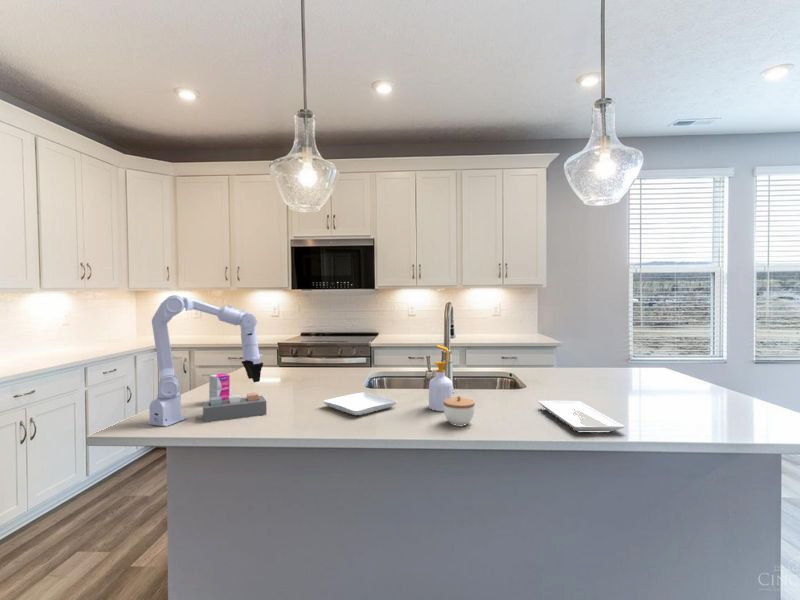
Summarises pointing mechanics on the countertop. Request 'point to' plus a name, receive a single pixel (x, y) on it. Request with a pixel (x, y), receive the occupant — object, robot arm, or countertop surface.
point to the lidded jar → (458, 410)
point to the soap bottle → (440, 386)
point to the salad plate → (360, 403)
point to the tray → (566, 411)
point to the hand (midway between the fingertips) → (254, 380)
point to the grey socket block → (234, 409)
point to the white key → (234, 399)
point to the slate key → (215, 401)
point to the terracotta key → (252, 397)
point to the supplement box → (219, 386)
